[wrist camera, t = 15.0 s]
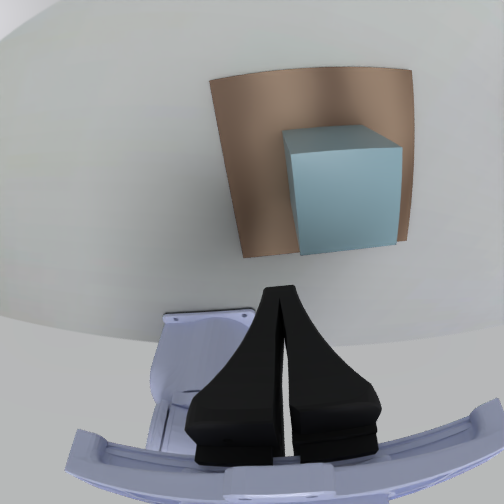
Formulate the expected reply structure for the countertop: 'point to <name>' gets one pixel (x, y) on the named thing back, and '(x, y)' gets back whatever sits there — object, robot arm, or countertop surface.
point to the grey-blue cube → (343, 187)
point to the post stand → (297, 117)
